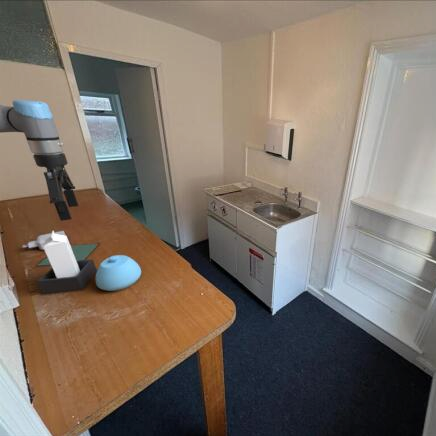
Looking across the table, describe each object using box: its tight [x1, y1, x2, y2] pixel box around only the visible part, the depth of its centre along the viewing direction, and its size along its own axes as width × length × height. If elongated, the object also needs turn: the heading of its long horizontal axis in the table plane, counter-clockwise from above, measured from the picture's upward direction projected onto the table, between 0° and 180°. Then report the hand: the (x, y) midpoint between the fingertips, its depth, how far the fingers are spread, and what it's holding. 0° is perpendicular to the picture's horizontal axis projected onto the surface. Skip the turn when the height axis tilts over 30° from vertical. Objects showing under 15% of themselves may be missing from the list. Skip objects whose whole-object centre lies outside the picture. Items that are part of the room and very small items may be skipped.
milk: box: [43, 230, 80, 278], centre depth 89 cm, size 6×6×22 cm
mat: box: [36, 243, 99, 267], centre depth 109 cm, size 16×16×1 cm
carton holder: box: [36, 258, 98, 295], centre depth 92 cm, size 12×12×6 cm
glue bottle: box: [21, 230, 67, 251], centre depth 114 cm, size 5×9×15 cm
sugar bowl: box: [95, 254, 142, 292], centre depth 93 cm, size 15×15×12 cm
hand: (70, 212), depth 85 cm, fingers open, 13 cm apart
